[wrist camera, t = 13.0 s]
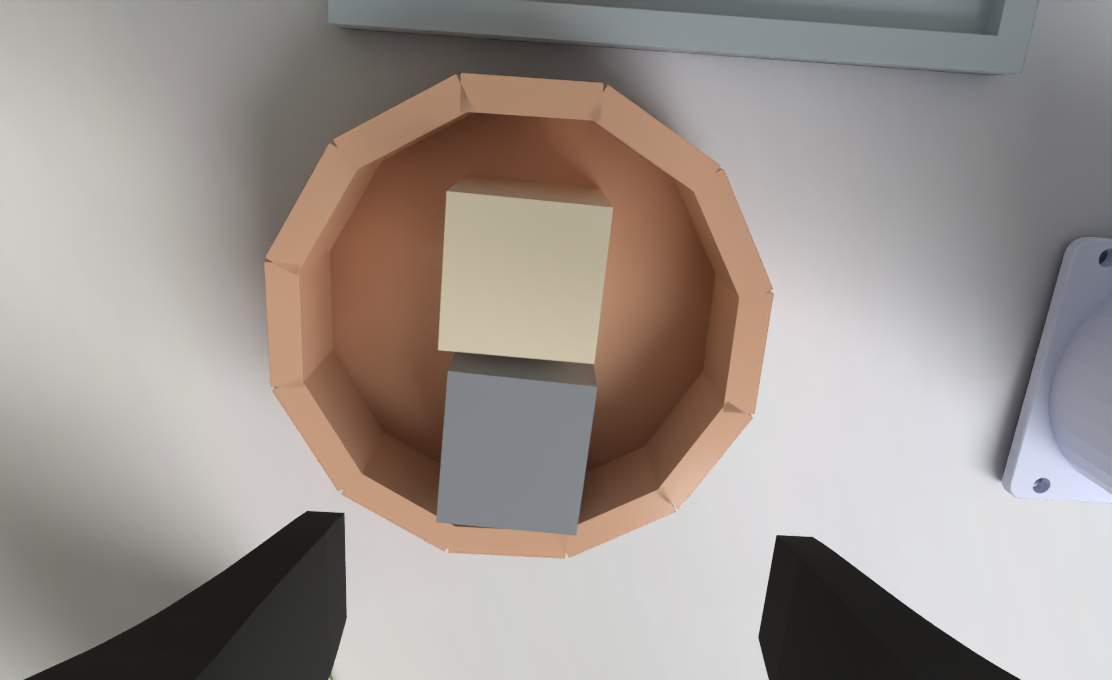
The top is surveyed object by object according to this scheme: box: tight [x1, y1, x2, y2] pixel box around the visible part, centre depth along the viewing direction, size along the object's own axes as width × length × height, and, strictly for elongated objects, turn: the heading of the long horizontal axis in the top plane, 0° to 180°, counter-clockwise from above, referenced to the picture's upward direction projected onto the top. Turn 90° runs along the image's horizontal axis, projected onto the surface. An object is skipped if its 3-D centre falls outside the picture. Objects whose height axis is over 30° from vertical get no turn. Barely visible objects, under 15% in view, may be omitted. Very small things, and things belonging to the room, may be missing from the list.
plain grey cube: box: [436, 352, 597, 536], centre depth 19 cm, size 4×4×4 cm
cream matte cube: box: [438, 175, 613, 364], centre depth 18 cm, size 4×4×4 cm
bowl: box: [264, 73, 774, 558], centre depth 19 cm, size 12×12×3 cm
